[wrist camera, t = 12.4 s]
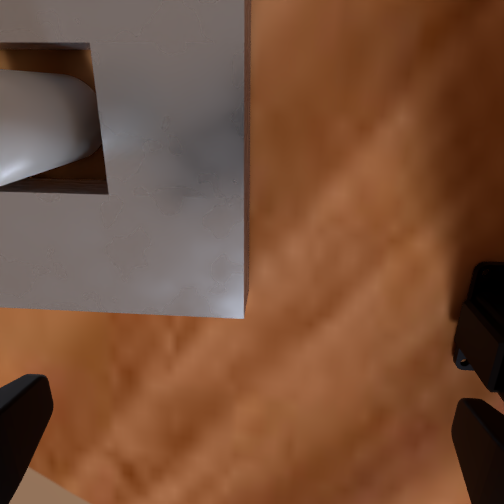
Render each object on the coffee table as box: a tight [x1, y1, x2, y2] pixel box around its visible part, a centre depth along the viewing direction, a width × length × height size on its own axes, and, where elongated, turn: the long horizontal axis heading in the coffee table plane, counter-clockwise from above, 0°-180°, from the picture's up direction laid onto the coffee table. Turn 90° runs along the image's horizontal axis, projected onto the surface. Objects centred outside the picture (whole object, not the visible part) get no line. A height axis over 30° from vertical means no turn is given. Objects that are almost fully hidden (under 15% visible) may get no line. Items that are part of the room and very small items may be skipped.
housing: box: [0, 0, 251, 319], centre depth 18 cm, size 18×18×3 cm
